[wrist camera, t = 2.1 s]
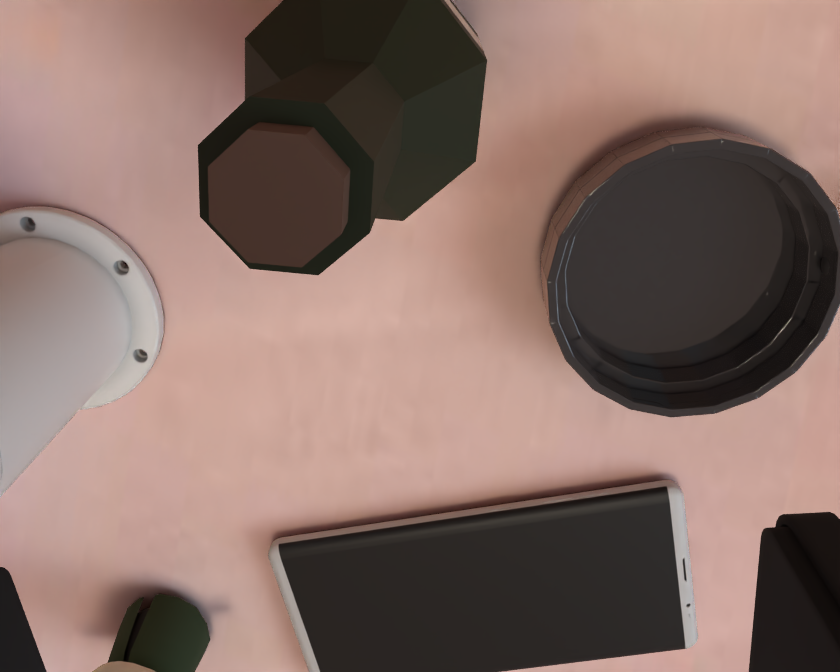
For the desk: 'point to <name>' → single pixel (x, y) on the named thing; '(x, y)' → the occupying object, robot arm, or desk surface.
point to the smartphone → (495, 585)
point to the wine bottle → (341, 127)
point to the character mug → (159, 638)
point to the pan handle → (824, 265)
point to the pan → (691, 271)
